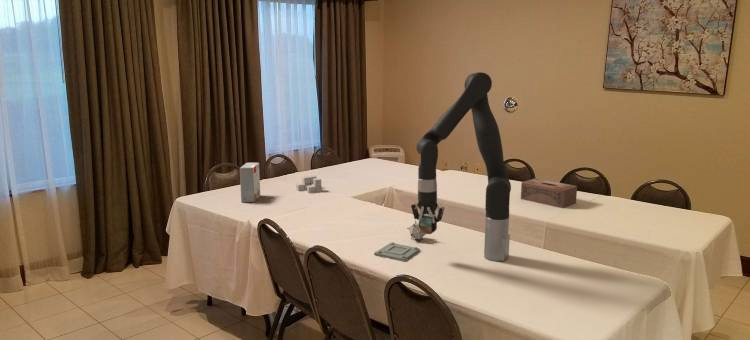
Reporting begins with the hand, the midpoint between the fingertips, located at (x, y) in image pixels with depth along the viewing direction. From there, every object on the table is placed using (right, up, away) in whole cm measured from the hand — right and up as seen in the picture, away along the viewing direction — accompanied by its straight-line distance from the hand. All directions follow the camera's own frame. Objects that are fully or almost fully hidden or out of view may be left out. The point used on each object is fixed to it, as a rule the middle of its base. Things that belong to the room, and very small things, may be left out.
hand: (427, 230), depth 216 cm
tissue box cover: (+76, +6, +85) cm, 114 cm away
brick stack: (0, -1, 0) cm, 1 cm away
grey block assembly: (-61, +11, +110) cm, 127 cm away
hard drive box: (-92, +7, +93) cm, 131 cm away
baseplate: (-12, -10, +9) cm, 18 cm away
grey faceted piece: (-2, -7, +25) cm, 26 cm away
